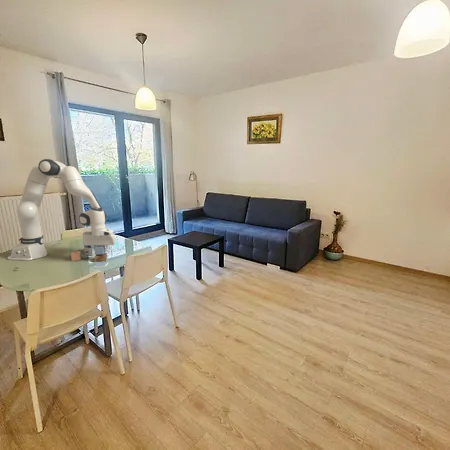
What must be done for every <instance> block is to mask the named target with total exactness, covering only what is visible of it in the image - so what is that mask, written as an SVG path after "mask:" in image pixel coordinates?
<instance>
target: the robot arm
mask: <svg viewBox="0 0 450 450" xmlns="http://www.w3.org/2000/svg"><path fill="white" fill-rule="evenodd" d="M51 178H54V179H62V181H63V183H64V186H65V189H66V191H67V192H68V193H69V194H71V195H72V196H75V197H80V198H83V199H85V200H86V201H87V202H88V203H89V206H90V209H89V210H86V211H83V212H81V213H79V216H78V221H79V223H80V224H81V225H82V226H85V227H88V226H90V229H91V230H90V231H83V233H82V237H83V238H82V239H83V241H82V243H83V246H84V245H92V248H93V249H94V251H95V245H105V248H104V251H106V252H107V250H108V247H109V246H114V245H115V244H116V243H117V239H116V235H115V234H114V230H113V229H110V228H107V226H106V224H105V223H106V220H107V218H108V217H107V213H106V211H105V210H104V209H103V207H102V206H101V204H100V202H99V200H98V199H97V197H96V196H95V193H94V192H93V191H92V190H91V189H90V188H89V187H88V186H87V185H86V184H85V182H84V180H83V178H82V176H81V174H80V172H79V170H78V169H77V168H76V167H75V166H73V165H67V164H65V163H64V162H61V161H60V160H53V159H51V158H44V159H41V160H40V161H39V163H38V165H35V166H33V167H32V169H31V170H30V171H29V174H28V176H27V179H26V182H25V184H24V187H23V188H24V189H23V191H22V196H21V199H20V203H19V204H18V206H17V207H16V214H17V218H18V222H19V225H20V232H21V237H20V238H19V239H18V242H19V243H18V244H17V245H15V246H14V247H13V248H12V249H11V253H10V255H9V256H8V257H7V260H11V261H31V260H36V259H41V258H44V257H46V256H47V255H49V253H48V252H47V249H46V247H45V246H46V245H45V240H44V235H43V231H42V226H41V225H42V224H41V221H40V215H39V211H40V208H41V204H42V202H43V198H44V196H45V192H46V189H47V187H48V182H49V181H50V179H51Z"/></svg>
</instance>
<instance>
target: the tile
mask: <svg viewBox="0 0 450 450" xmlns="http://www.w3.org/2000/svg"><path fill="white" fill-rule="evenodd" d="M108 264H109V261H108V262H107V261H104V262H96V264H95V265H94V266H93V267H94V268H105V267H106V266H107V265H108Z"/></svg>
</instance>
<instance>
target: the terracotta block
mask: <svg viewBox="0 0 450 450" xmlns="http://www.w3.org/2000/svg"><path fill="white" fill-rule="evenodd" d="M70 256H71V262H72V261H73V262H75V261H81V259H82V254H81V250H77V251H76V250H75V251H71V254H70Z"/></svg>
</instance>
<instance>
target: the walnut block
mask: <svg viewBox="0 0 450 450" xmlns="http://www.w3.org/2000/svg"><path fill="white" fill-rule="evenodd" d="M106 260H108V252H105V253H104V254H95V255H94V263H98V262H103V261H104V262H107V261H106Z"/></svg>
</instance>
